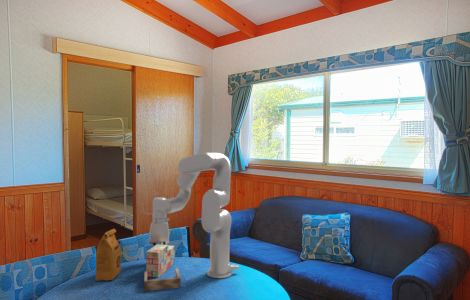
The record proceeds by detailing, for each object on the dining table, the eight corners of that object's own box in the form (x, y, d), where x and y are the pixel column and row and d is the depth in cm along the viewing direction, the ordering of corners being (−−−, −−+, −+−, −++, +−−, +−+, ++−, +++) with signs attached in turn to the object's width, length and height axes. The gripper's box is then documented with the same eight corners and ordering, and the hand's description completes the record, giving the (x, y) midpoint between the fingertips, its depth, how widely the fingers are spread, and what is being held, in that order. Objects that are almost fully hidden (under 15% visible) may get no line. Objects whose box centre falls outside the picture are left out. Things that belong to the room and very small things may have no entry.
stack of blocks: (163, 262, 181) (164, 239, 181) (174, 263, 180) (175, 240, 180) (145, 276, 160) (146, 250, 160) (158, 277, 159) (158, 251, 159)
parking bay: (177, 276, 160) (177, 268, 160) (180, 287, 148) (180, 278, 148) (144, 279, 156) (144, 271, 156) (144, 290, 144) (144, 281, 144)
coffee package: (124, 272, 165) (125, 228, 165) (112, 282, 152) (113, 234, 152) (105, 271, 166) (105, 227, 166) (91, 281, 153) (92, 233, 153)
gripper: (173, 218, 187) (172, 251, 187) (145, 219, 183) (144, 253, 183) (174, 221, 179) (173, 255, 179) (145, 222, 176) (144, 257, 176)
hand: (159, 254), depth 181 cm, fingers closed
